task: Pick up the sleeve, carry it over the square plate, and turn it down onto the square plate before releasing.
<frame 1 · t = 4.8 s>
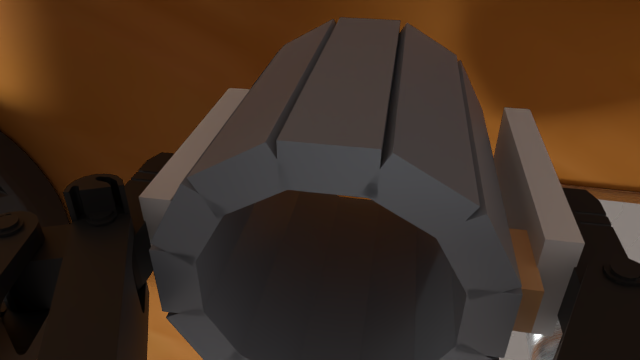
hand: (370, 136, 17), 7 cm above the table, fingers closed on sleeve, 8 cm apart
sleeve: (363, 131, 17), point 7 cm above the table, touching gripper
square plate: (554, 297, 28), on the table
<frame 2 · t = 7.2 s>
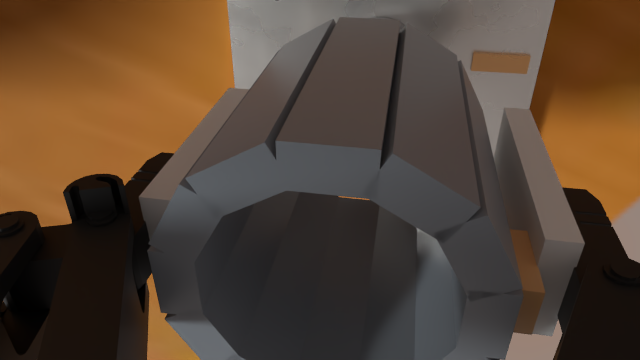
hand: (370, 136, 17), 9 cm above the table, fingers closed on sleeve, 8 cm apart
sleeve: (363, 131, 17), point 9 cm above the table, touching gripper
square plate: (380, 48, 24), on the table
when the fingers open (2 cm above the table, at t = 9.8 s): sleeve stays where it is, resting on square plate.
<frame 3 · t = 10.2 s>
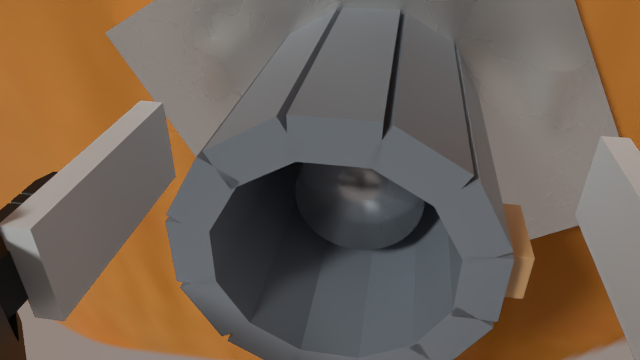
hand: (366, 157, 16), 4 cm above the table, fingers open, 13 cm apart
sleeve: (365, 118, 18), point 1 cm above the table, touching square plate
square plate: (376, 108, 19), on the table
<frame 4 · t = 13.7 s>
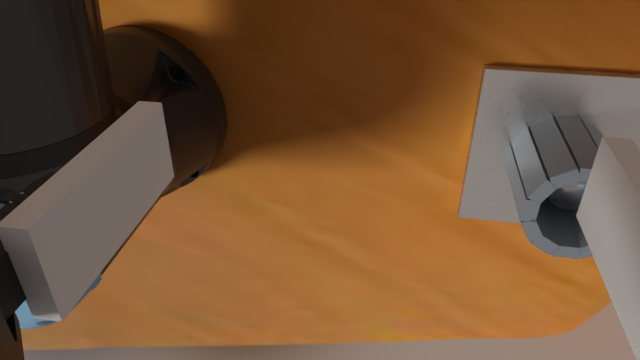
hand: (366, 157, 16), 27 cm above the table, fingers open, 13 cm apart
sleeve: (555, 159, 42), point 1 cm above the table, touching square plate
square plate: (556, 150, 43), on the table
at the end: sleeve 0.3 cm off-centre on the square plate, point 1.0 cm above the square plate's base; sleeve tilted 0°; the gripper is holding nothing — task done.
